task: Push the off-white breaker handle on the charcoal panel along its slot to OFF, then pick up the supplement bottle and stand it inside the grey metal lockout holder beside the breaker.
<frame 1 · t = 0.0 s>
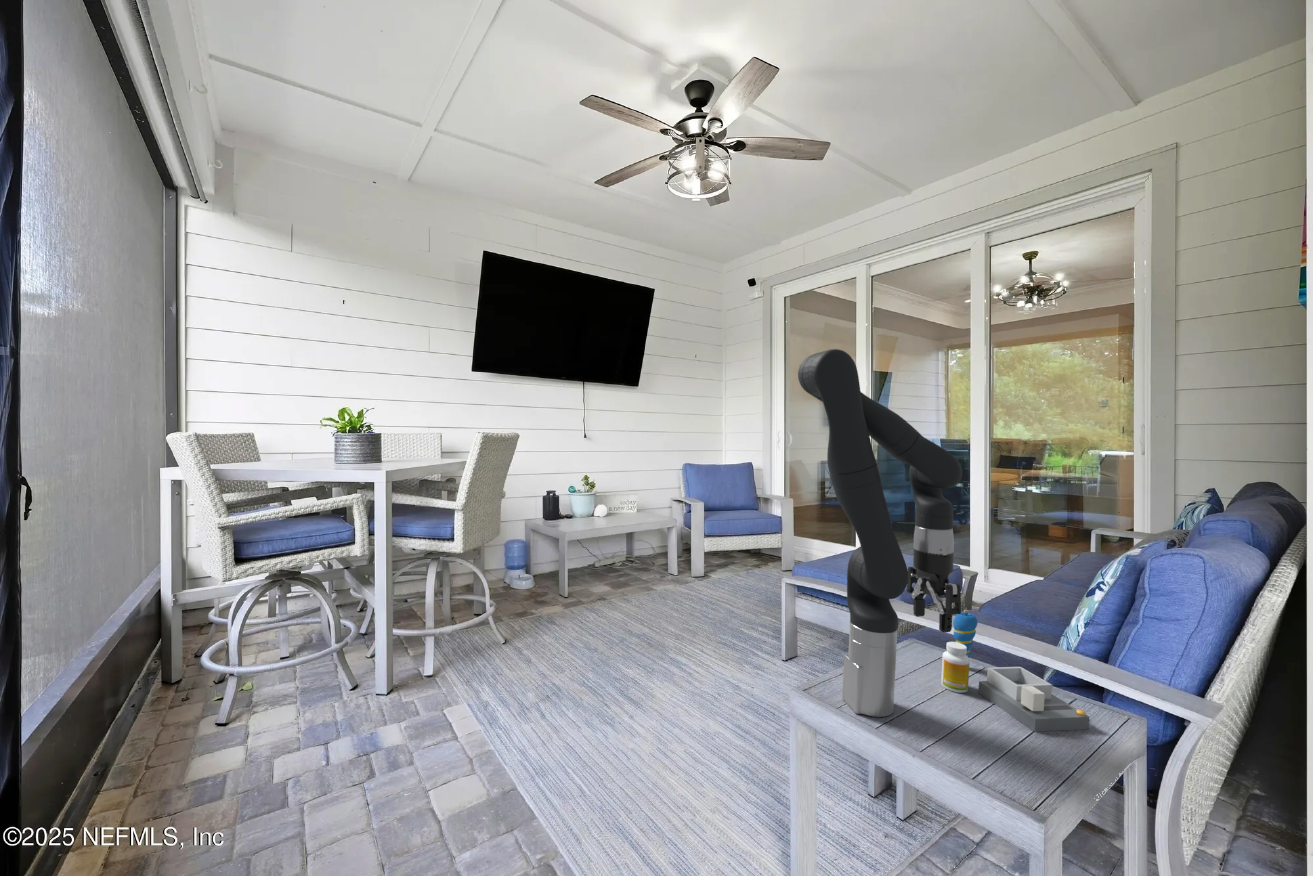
hand: (931, 623, 113), 17 cm above the table, tool pointing down, fingers open, 8 cm apart
supplement bottle: (954, 688, 121), on the table
ornament: (962, 668, 131), on the table
breaker handle: (1032, 698, 108), point 5 cm above the table, slide at 0.0 cm
breaker panel: (1030, 709, 112), on the table
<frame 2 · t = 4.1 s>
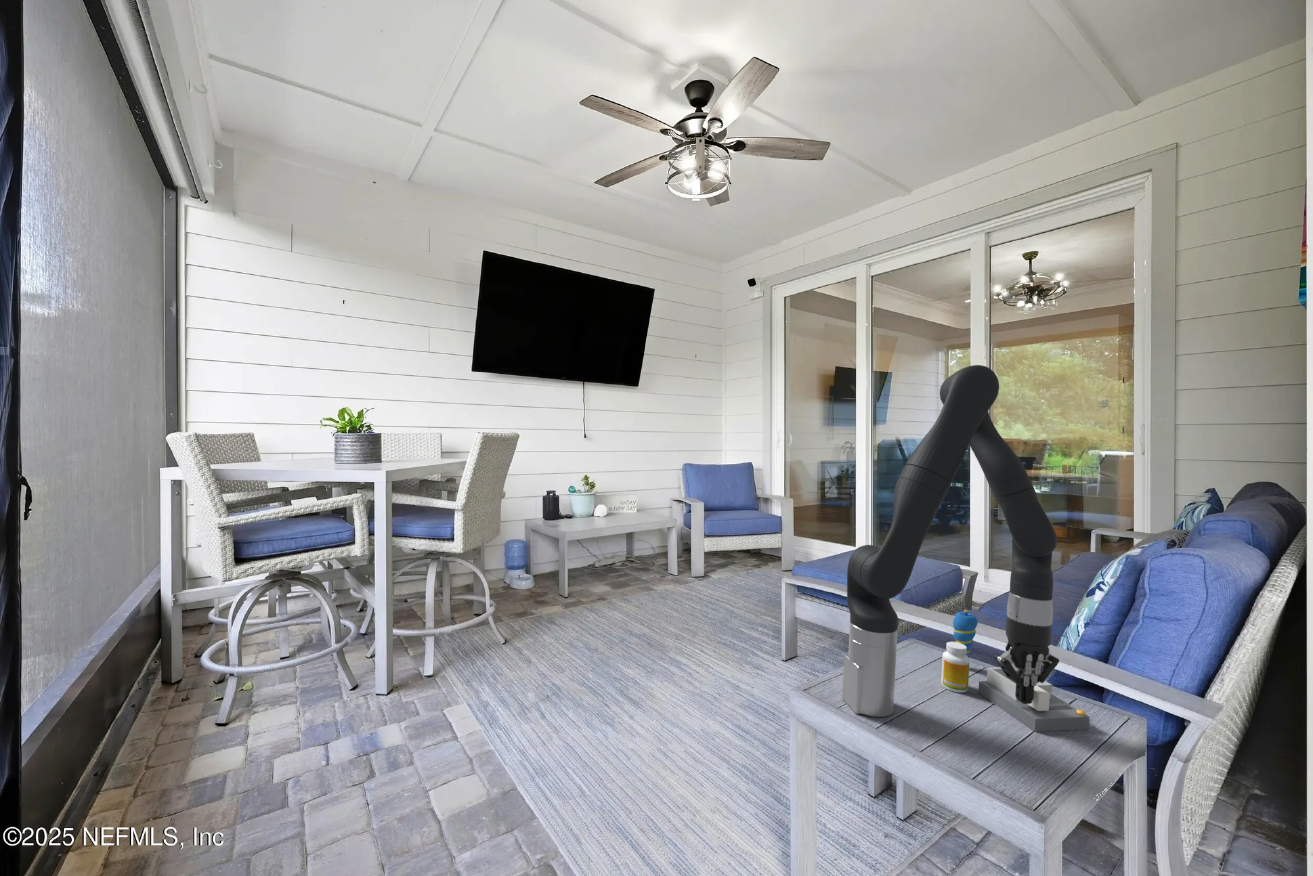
hand: (1024, 701, 107), 4 cm above the table, tool pointing down, fingers closed
breaker handle: (1037, 698, 108), point 5 cm above the table, slide at 1.2 cm, touching gripper
everything else where it was.
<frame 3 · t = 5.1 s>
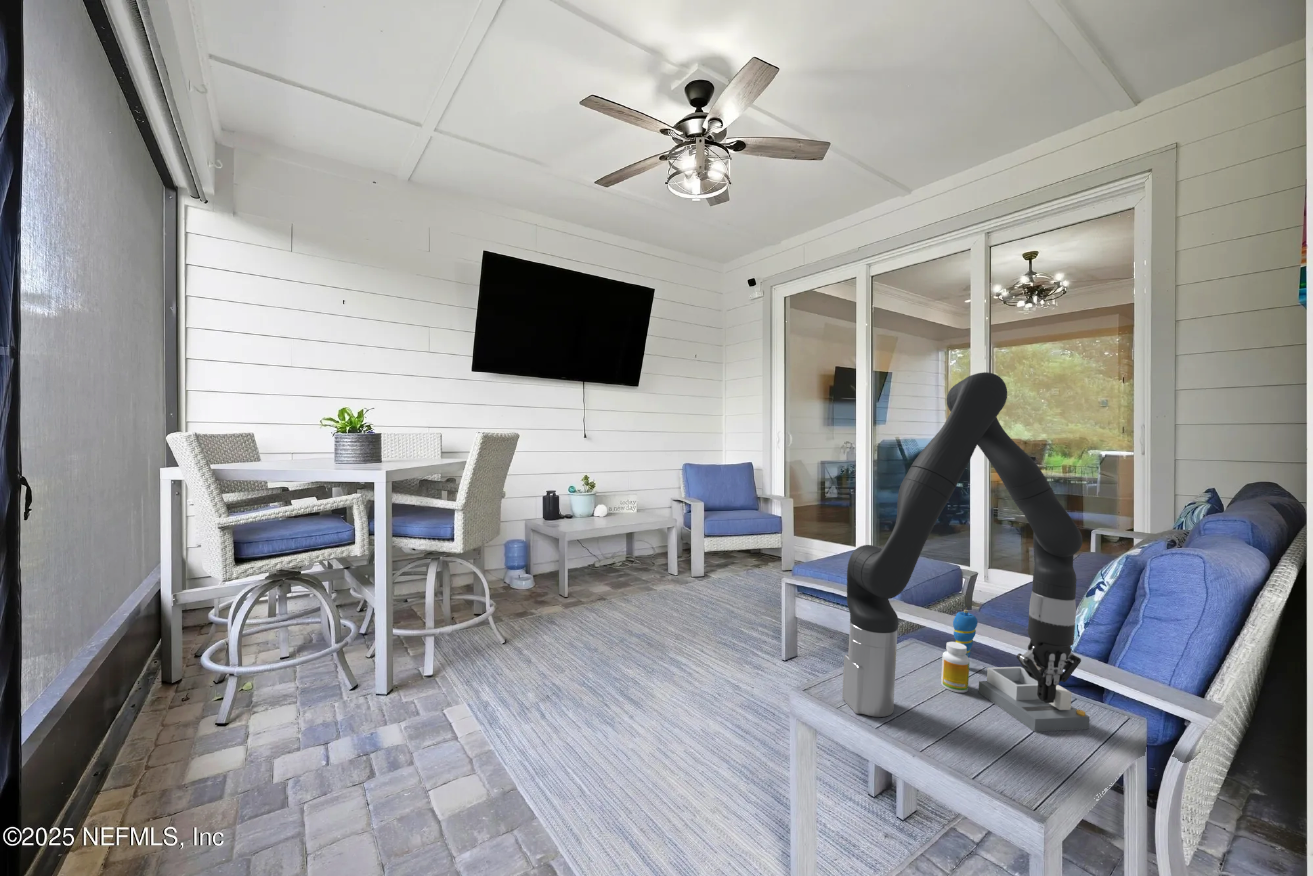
hand: (1045, 700, 108), 4 cm above the table, tool pointing down, fingers closed
breaker handle: (1059, 697, 109), point 5 cm above the table, slide at 6.1 cm, touching gripper
everything else where it was.
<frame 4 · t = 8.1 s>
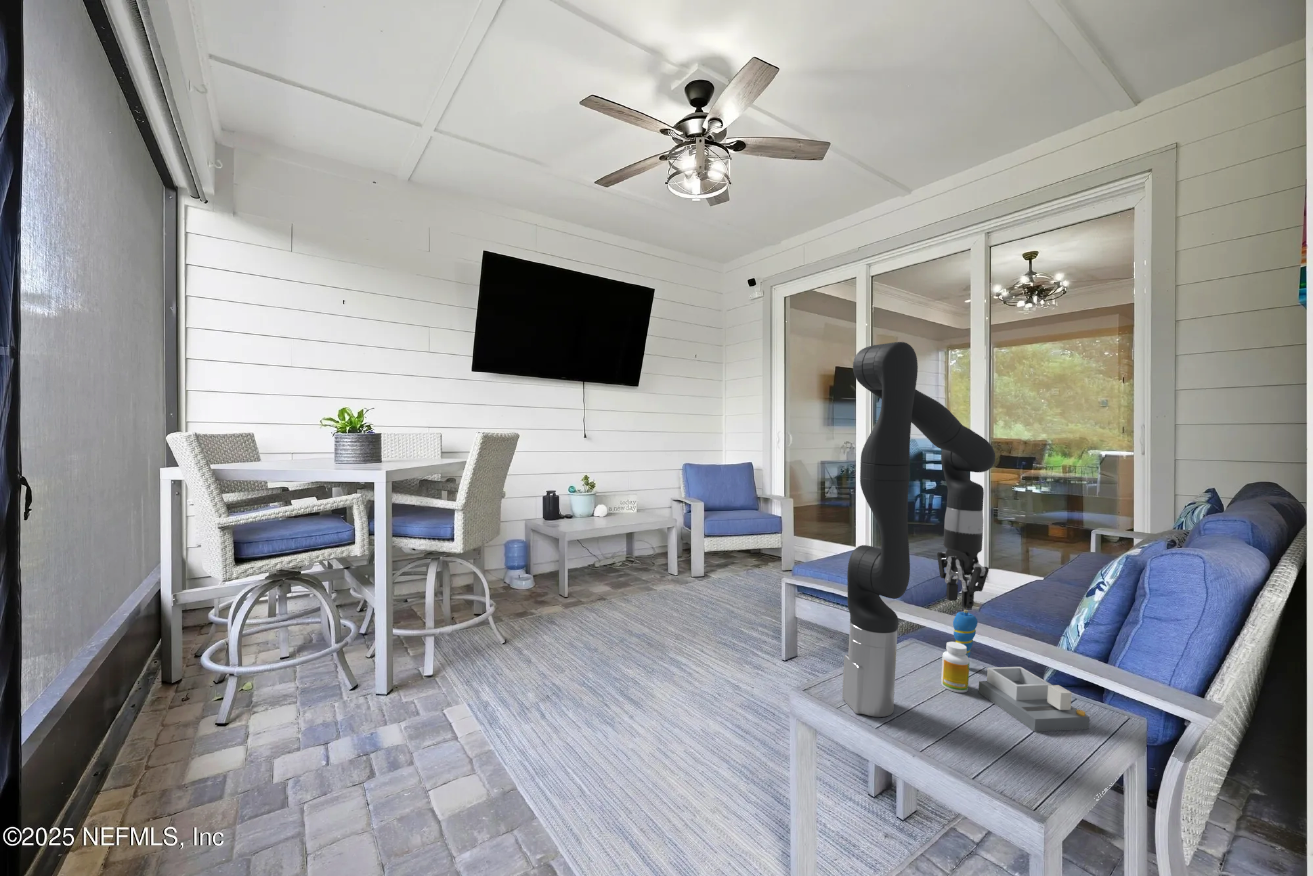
hand: (959, 603, 120), 19 cm above the table, tool pointing down, fingers open, 4 cm apart
breaker handle: (1059, 697, 109), point 5 cm above the table, slide at 6.1 cm
everything else where it was.
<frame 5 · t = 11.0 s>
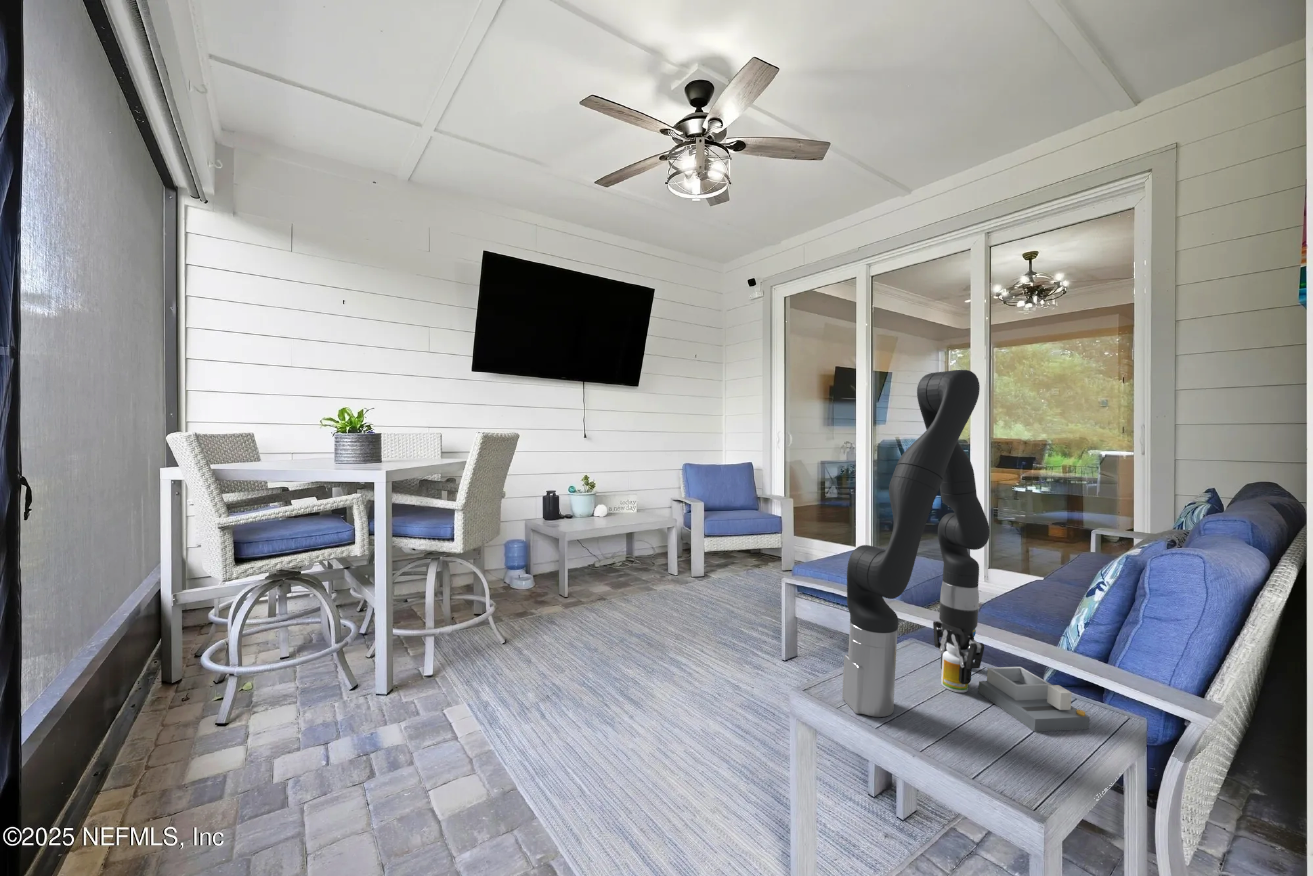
hand: (954, 676, 121), 3 cm above the table, tool pointing down, fingers closed on supplement bottle, 5 cm apart
supplement bottle: (954, 688, 121), on the table, touching gripper
everything else where it was.
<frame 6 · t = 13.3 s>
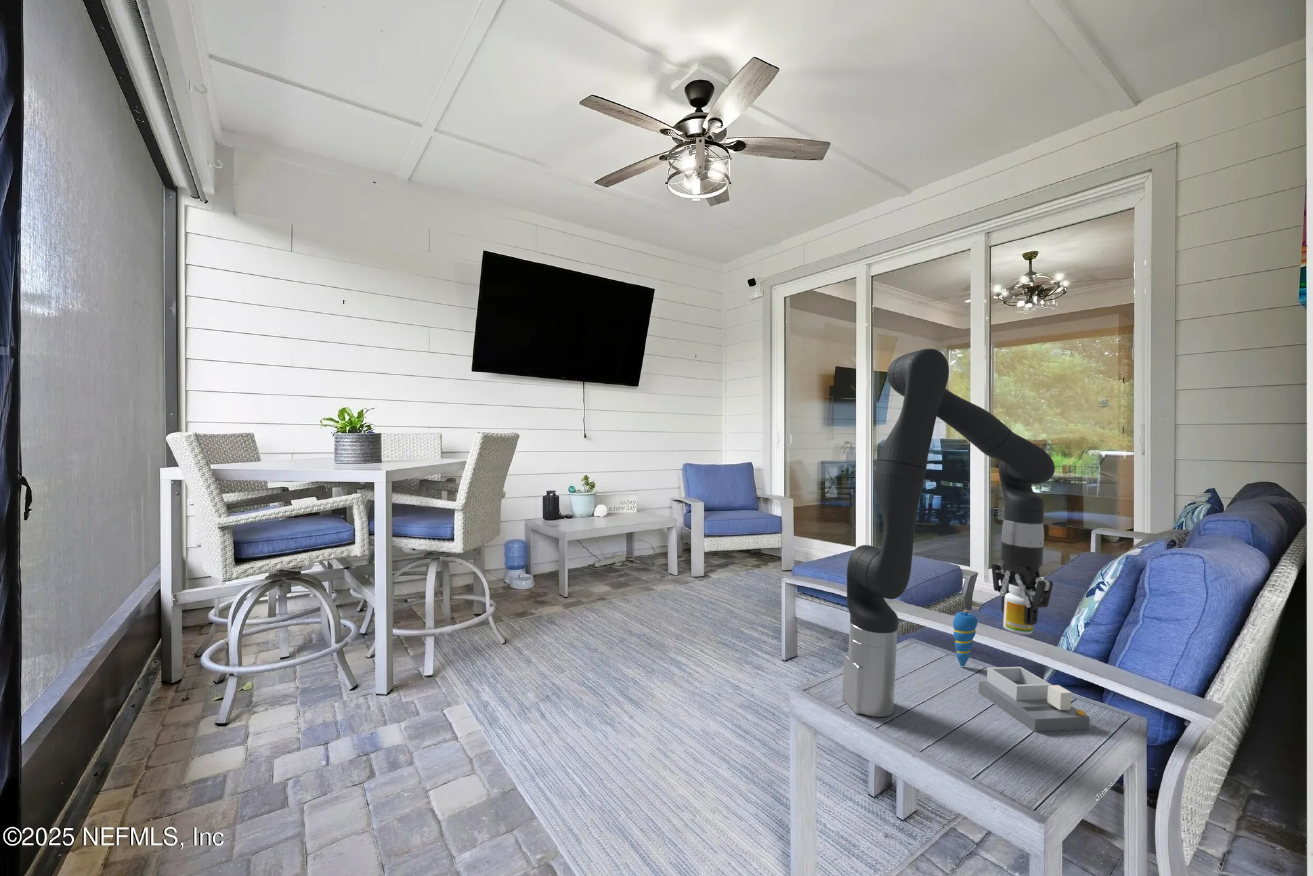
hand: (1018, 618, 116), 18 cm above the table, tool pointing down, fingers closed on supplement bottle, 5 cm apart
supplement bottle: (1017, 630, 116), point 15 cm above the table, touching gripper
everything else where it was.
when the fingers open (7 cm above the table, at t = 15.9 s): supplement bottle drops 2 cm, resting on breaker panel.
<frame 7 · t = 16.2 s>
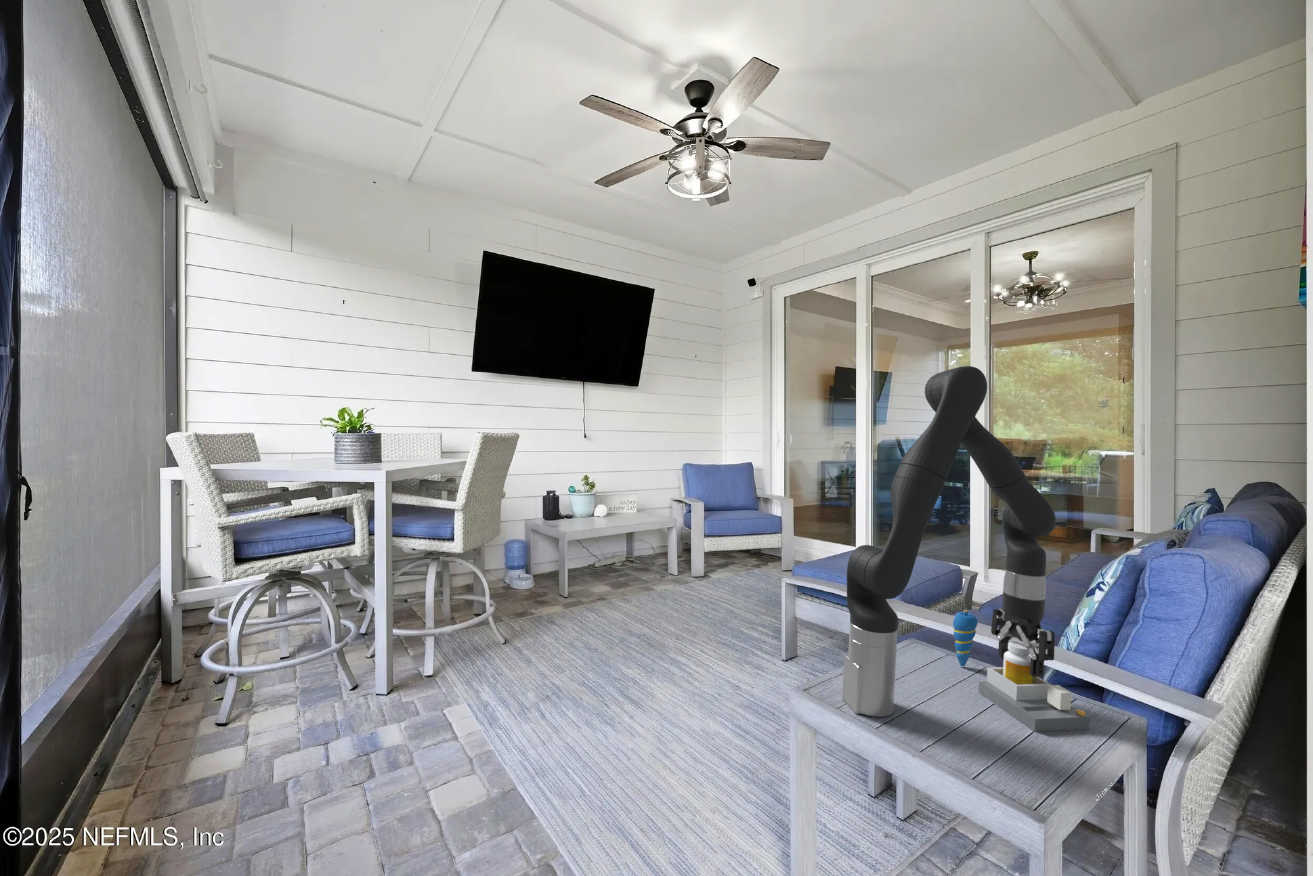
hand: (1019, 666, 115), 8 cm above the table, tool pointing down, fingers open, 8 cm apart
supplement bottle: (1016, 690, 116), point 2 cm above the table, touching breaker panel
everything else where it was.
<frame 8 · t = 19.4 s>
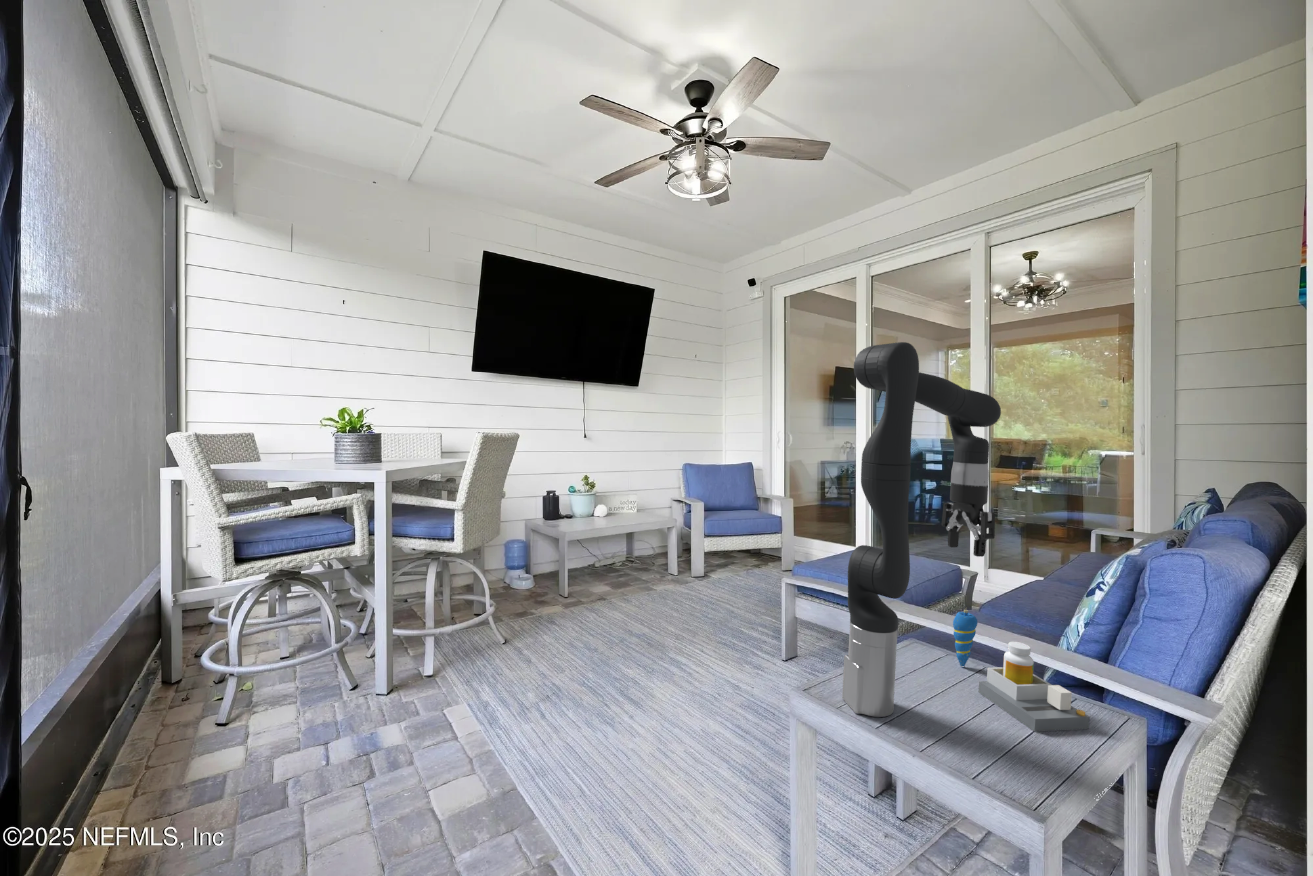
hand: (965, 551, 124), 30 cm above the table, tool pointing down, fingers open, 8 cm apart
nothing on the table moved.
at the end: breaker handle slide at 6.1 cm; supplement bottle 0.2 cm from the target spot on the breaker panel, point 2.3 cm above the breaker panel's base; supplement bottle tilted 0° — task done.
